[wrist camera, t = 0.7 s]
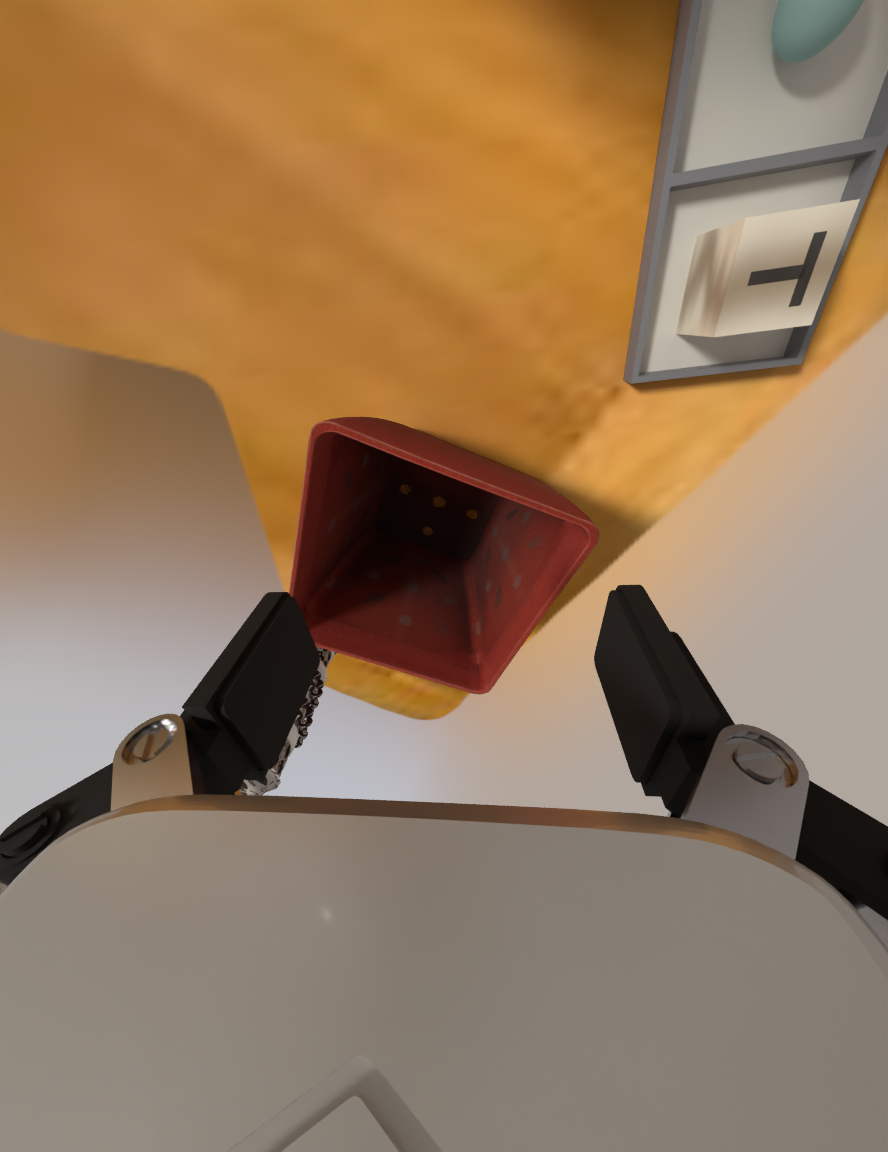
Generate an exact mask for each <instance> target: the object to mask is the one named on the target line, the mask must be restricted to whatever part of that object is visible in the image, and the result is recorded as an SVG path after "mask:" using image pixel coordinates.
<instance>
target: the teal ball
mask: <svg viewBox="0 0 888 1152" xmlns="http://www.w3.org/2000/svg"><path fill="white" fill-rule="evenodd" d="M863 2H864V0H779V2H778V5H777V8H776V11H775V15H774V19H773V24H772V35H771V38H772V45H773V49H774V51H775V53H776V55H777V56H778V57H779V58H780V59H781V60H783V61H785V62H790V63H795V62H800V61H804V60H806V59H809V58H811V57H813V56H814V55H816V54H818V53H819V52H821V51H822V50H823V49H825V48H826V47H827V46H828V45H829V44H830V43H832V42H833V41H834V40H835V39H836V38H837V37H838V36H839V35H840V34H841V32H842V31H843V30H844V29H845V28H846V27H847V25H848V24H849V23H850V22H851V20H852V19H853V17H854V16H855V14H856V13H857V12H858V10H859V8H860V7H861V5H862V3H863Z"/></svg>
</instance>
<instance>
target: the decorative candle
mask: <svg viewBox="0 0 888 1152" xmlns="http://www.w3.org/2000/svg"><path fill="white" fill-rule="evenodd" d="M316 648H317V650H318V652H319V655H320V664H319V667H318V669H317V672H316V674H315V676H314V678H313V681H312V683H311V685H310V688H309V690H308V692H307V694H306V697H305V699H304V701H303V703H302V706H301V708H300V710H299V712H298V715H297V717H296V719H295V721H294V724H293V726H292V728H291V731H290V733H289V735H288V737H287V740H286V742H285V744H284V746H283V749H282V751H281V753H280V755H279V758H278V760H277V762H276V764H275V766H274V767H273V768H272V769H269V770H268V772H267V774H266V777H265V779H264V781H252V780H245V779H244V781H243V783H242V785H241V787H240V791H241V795H260V796H262V795H263V794H264V793H265V792H268V791H271V790H274V789H276V788H277V787H278V785H279V784H280V778H279V777H280V775H281V772H282V770H283V769H284V766H285V764H286V761H287V759H288V757H289V756H290V754H291V752H292V751H293V750H294V748H297V747H300V746H301V745H302V743H303V739H305V738H306V737H307V735H308V732H307V727H308V726H310V725H311V724H312V718H311V717H312V715H313V712H314V708H316V707H317V706H318V704H319V702H318V699H317V698H318V697H320V696H321V695H322V693H323V691H322V689H321V688H323V686H324V682H325V680H326V678H327V671H326V669H327V666H328V664H329V663H330V661H331V660H332V658H333V656H334V654H336V652H333V651H330V650H327V649H324V648H320V647H316ZM316 689H318V690H316ZM310 704H311V706H310ZM305 718H307V719H306V720H304V719H305ZM299 734H300V736H299Z"/></svg>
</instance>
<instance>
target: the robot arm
mask: <svg viewBox="0 0 888 1152" xmlns="http://www.w3.org/2000/svg"><path fill="white" fill-rule="evenodd" d="M594 661H595V667H596V670H597V673H598V676H599V679H600V682H601V685H602V688H603V691H604V694H605V697H606V700H607V703H608V706H609V709H610V712H611V715H612V718H613V721H614V724H615V727H616V730H617V733H618V736H619V739H620V742H621V745H622V748H623V751H624V753H625V757H626V760H627V763H628V766H629V769H630V772H631V775H632V777H633V779H634V781H635V782H641V784H642V787H643V790H644V793H645V795H646V796H660V797H662V800H663V803H664V805H665V808H667V809H668V810H669V813H668V816H667V817H664V816H655V815H646V814H637V813H622V812H607V811H592V810H577V809H559V808H539V807H518V806H497V805H477V804H455V803H432V802H409V801H386V800H364V799H339V798H313V797H285V796H260V795H241V791H240V787H241V785H242V783H243V781H244V779H245V780H252V781H264V779H265V777H266V774H267V772H268V770H269V769H272V768H273V767H274V766H275V764H276V762H277V760H278V758H279V755H280V753H281V751H282V749H283V746H284V744H285V742H286V740H287V737H288V735H289V733H290V731H291V728H292V726H293V724H294V721H295V719H296V717H297V715H298V712H299V710H300V708H301V706H302V703H303V701H304V699H305V697H306V694H307V692H308V690H309V688H310V685H311V683H312V681H313V678H314V676H315V674H316V672H317V669H318V667H319V664H320V655H319V652H318V650H317V648H316V645H315V643H314V640H313V638H312V636H311V633H310V631H309V629H308V626H307V624H306V622H305V619H304V617H303V614H302V612H301V610H300V607H299V605H298V603H297V600H296V599H295V598H294V597H291V595H290V594H289V593H288V592H269V593H267V594H266V595H265V596H264V597H263V598H262V600H261V601H260V602H259V604H258V605H257V606H256V608H255V609H254V611H253V612H252V613H251V615H250V616H249V617H248V619H247V620H246V621H245V623H244V624H243V625H242V627H241V628H240V629H239V631H238V632H237V634H236V635H235V636H234V637H233V639H232V640H231V641H230V643H229V644H228V645H227V647H226V648H225V650H224V651H223V652H222V654H221V655H220V656H219V658H218V659H217V660H216V662H215V663H214V664H213V666H212V667H211V668H210V670H209V671H208V672H207V674H206V675H205V677H204V678H203V679H202V681H201V682H200V683H199V685H198V686H197V688H196V689H195V690H194V692H193V693H192V694H191V695H190V697H189V698H188V699H187V701H186V702H185V703H184V705H183V706H182V708H183V709H184V711H183V713H182V714H181V716H180V717H179V716H178V715H176V714H164V715H159V716H157V717H154V718H151V719H149V720H147V721H146V722H144V723H142V724H141V725H139V726H138V727H136V728H135V729H134V730H133V731H131V732H130V733H129V734H128V735H127V736H126V737H125V739H124V740H123V741H122V742H121V743H120V745H119V747H118V748H117V750H116V752H115V755H114V759H113V763H111V764H110V765H108V766H106V767H104V768H103V769H101V770H99V771H98V772H96V773H94V774H92V775H91V776H89V777H87V778H85V779H84V780H82V781H80V782H78V783H77V784H75V785H73V786H71V787H70V788H68V789H66V790H64V791H63V792H61V793H59V794H57V795H56V796H54V797H52V798H50V799H49V800H47V801H45V802H43V803H42V804H40V805H38V806H36V807H35V808H33V809H31V810H30V811H28V812H27V813H25V814H24V815H22V816H21V817H19V818H18V819H17V820H16V821H15V822H13V823H12V824H11V825H10V826H9V827H8V828H6V829H5V831H4V832H3V833H2V834H1V835H0V1152H888V826H886V825H884V824H882V823H881V822H879V821H877V820H876V819H874V818H872V817H871V816H869V815H867V814H865V813H864V812H862V811H860V810H859V809H857V808H855V807H854V806H852V805H850V804H849V803H847V802H845V801H843V800H842V799H840V798H838V797H837V796H835V795H833V794H832V793H830V792H828V791H826V790H825V789H823V788H821V787H820V786H818V785H816V784H814V783H813V782H811V781H809V775H808V771H807V769H806V767H805V765H804V763H803V761H802V760H801V759H800V757H799V756H798V755H797V754H796V752H795V751H794V750H793V749H792V748H791V747H789V746H788V745H787V744H786V743H785V742H784V741H782V740H781V739H779V738H778V737H776V736H774V735H772V734H771V733H769V732H767V731H765V730H762V729H760V728H757V727H754V726H749V725H744V724H738V725H735V724H734V722H733V721H732V719H731V717H730V716H729V714H728V713H727V711H726V709H725V708H724V706H723V705H722V703H721V702H720V700H719V698H718V697H717V695H716V694H715V692H714V690H713V689H712V687H711V685H710V684H709V682H708V681H707V679H706V677H705V676H704V674H703V673H702V671H701V670H700V668H699V666H698V665H697V663H696V661H695V660H694V658H693V657H692V655H691V653H690V652H689V650H688V648H687V647H686V645H685V644H684V642H683V640H682V639H681V638H680V636H679V635H678V634H677V633H675V632H670V631H669V629H668V628H667V626H666V624H665V623H664V621H663V619H662V617H661V616H660V614H659V612H658V611H657V609H656V608H655V606H654V604H653V603H652V601H651V600H650V598H649V596H648V594H647V593H646V591H645V589H644V588H643V587H642V586H641V585H619V586H618V587H617V588H616V590H612V591H610V593H609V596H608V601H607V605H606V609H605V613H604V617H603V622H602V626H601V630H600V634H599V638H598V642H597V646H596V651H595V656H594Z"/></svg>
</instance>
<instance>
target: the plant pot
mask: <svg viewBox="0 0 888 1152" xmlns="http://www.w3.org/2000/svg"><path fill="white" fill-rule="evenodd" d="M402 484H407V485H408V486H409V487H410V488H411V494H410V495H408V496H404V495H402V494H401V493H400V491H399V488H400V486H401V485H402ZM437 496H442V497H443V498H444V499H445V501H446V505H445V507H444V508H443V509H436V508H435V507H434V506H433V504H432V500H433V498H435V497H437ZM470 509H473V510H475V511H477V513H478V516H477V518H476V519H475V520H469V519H467V517H466V513H467V511H468V510H470ZM424 527H430V528H432V530H433V535H432V536H429V537H428V536H425V535H424V534H423V533H422V529H423V528H424ZM598 539H599V530H598V528H597V527H596V525H595V524H594V523H593V522H592V521H591V520H590V519H589V518H588V517H587V516H586V515H585V514H584V513H583V512H582V511H581V510H580V509H579V508H577V507H576V506H575V505H574V504H573V503H571V502H570V501H569V500H568V499H566V498H565V497H564V496H562V495H561V494H559V493H558V492H556V491H555V490H553V489H552V488H550V487H549V486H547V485H545V484H544V483H542V482H540V481H538V480H536V479H534V478H532V477H530V476H528V475H526V474H524V473H521V472H519V471H517V470H514V469H512V468H509V467H507V466H504V465H501V464H499V463H496V462H494V461H491V460H489V459H486V458H484V457H481V456H479V455H477V454H474V453H472V452H469V451H467V450H464V449H462V448H459V447H457V446H454V445H452V444H449V443H447V442H444V441H442V440H440V439H437V438H435V437H432V436H430V435H427V434H425V433H422V432H420V431H417V430H415V429H413V428H410V427H408V426H405V425H402V424H399V423H396V422H392V421H388V420H384V419H379V418H371V417H343V418H336V419H330V420H325V421H322V422H319V423H317V424H315V426H314V427H313V428H312V429H311V432H310V436H309V443H308V451H307V460H306V468H305V475H304V482H303V490H302V497H301V505H300V513H299V520H298V528H297V536H296V543H295V551H294V559H293V567H292V574H291V582H290V589H289V594H290V595H291V597H294V598H295V599H296V600H297V603H298V605H299V607H300V610H301V612H302V614H303V617H304V619H305V622H306V624H307V626H308V629H309V631H310V633H311V636H312V638H313V640H314V643H315V645H316V647H320V648H324V649H327V650H330V651H333V652H337V653H340V654H344V655H347V656H350V657H353V658H357V659H361V660H364V661H367V662H370V663H374V664H377V665H380V666H384V667H387V668H390V669H394V670H397V671H400V672H404V673H407V674H410V675H413V676H417V677H420V678H423V679H427V680H430V681H433V682H436V683H440V684H443V685H446V686H449V687H453V688H456V689H459V690H463V691H466V692H469V693H473V694H484V693H487V692H489V691H490V690H491V689H492V687H493V686H494V685H495V683H496V682H497V680H498V679H499V677H500V676H501V674H502V673H503V672H504V670H505V669H506V667H507V666H508V665H509V663H510V662H511V660H512V659H513V658H514V656H515V655H516V653H517V652H518V651H519V649H520V648H521V646H522V645H523V644H524V642H525V641H526V639H527V638H528V637H529V635H530V634H531V633H532V631H533V630H534V628H535V627H536V626H537V624H538V623H539V621H540V620H541V619H542V617H543V616H544V615H545V613H546V612H547V610H548V609H549V608H550V606H551V605H552V603H553V602H554V601H555V599H556V598H557V597H558V595H559V594H560V593H561V591H562V590H563V589H564V587H565V586H566V585H567V583H568V582H569V581H570V579H571V578H572V576H573V575H574V574H575V572H576V571H577V570H578V568H579V567H580V566H581V564H582V563H583V562H584V560H585V559H586V558H587V556H588V555H589V554H590V552H591V551H592V549H593V548H594V547H595V545H596V544H597V542H598Z"/></svg>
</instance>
